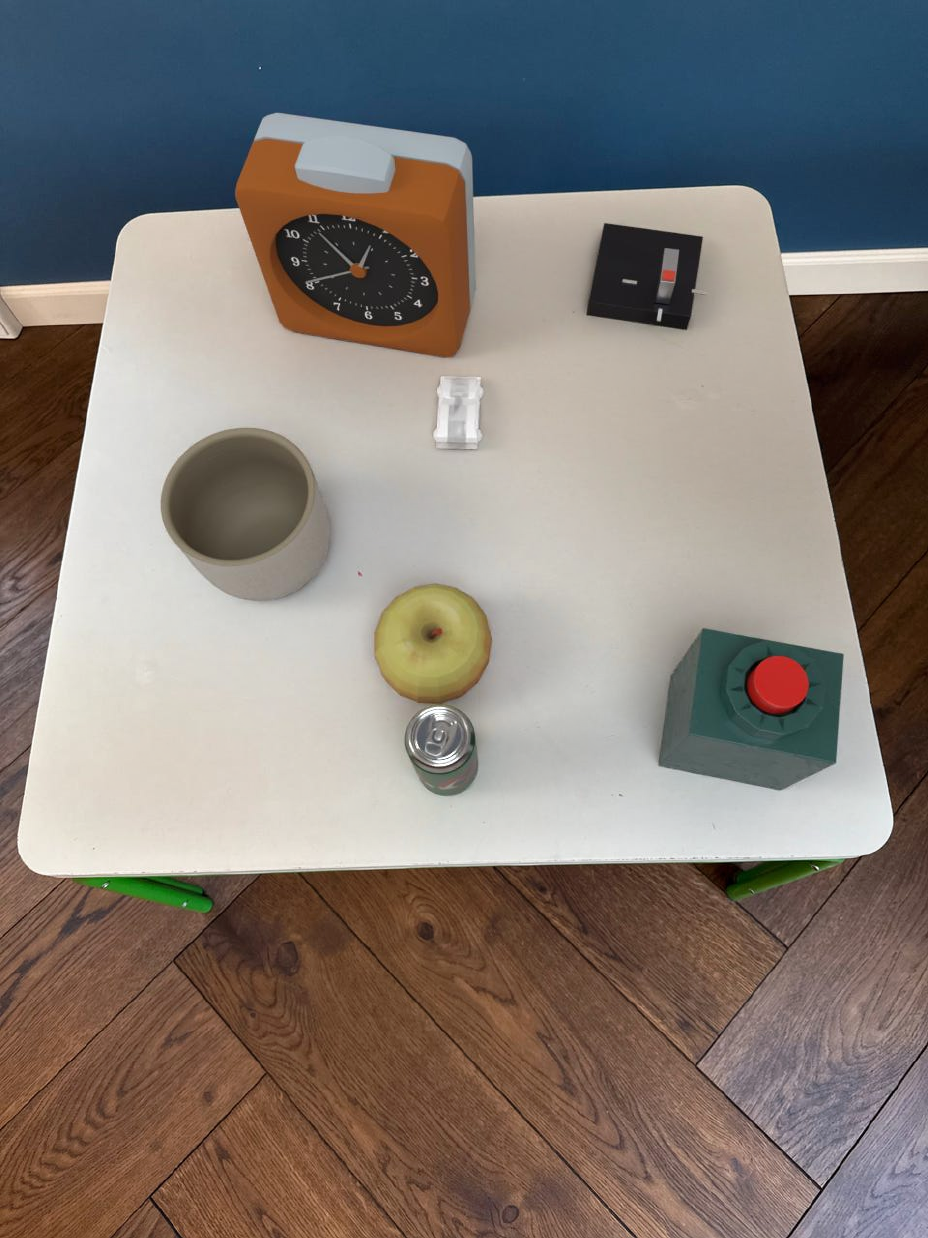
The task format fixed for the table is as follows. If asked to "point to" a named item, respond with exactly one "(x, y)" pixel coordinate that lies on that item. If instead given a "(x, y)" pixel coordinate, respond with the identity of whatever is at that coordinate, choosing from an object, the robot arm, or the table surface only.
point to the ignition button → (777, 684)
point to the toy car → (458, 413)
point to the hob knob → (667, 276)
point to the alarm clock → (362, 231)
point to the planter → (247, 513)
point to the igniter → (749, 714)
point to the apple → (432, 643)
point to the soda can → (442, 749)
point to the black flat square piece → (643, 276)
